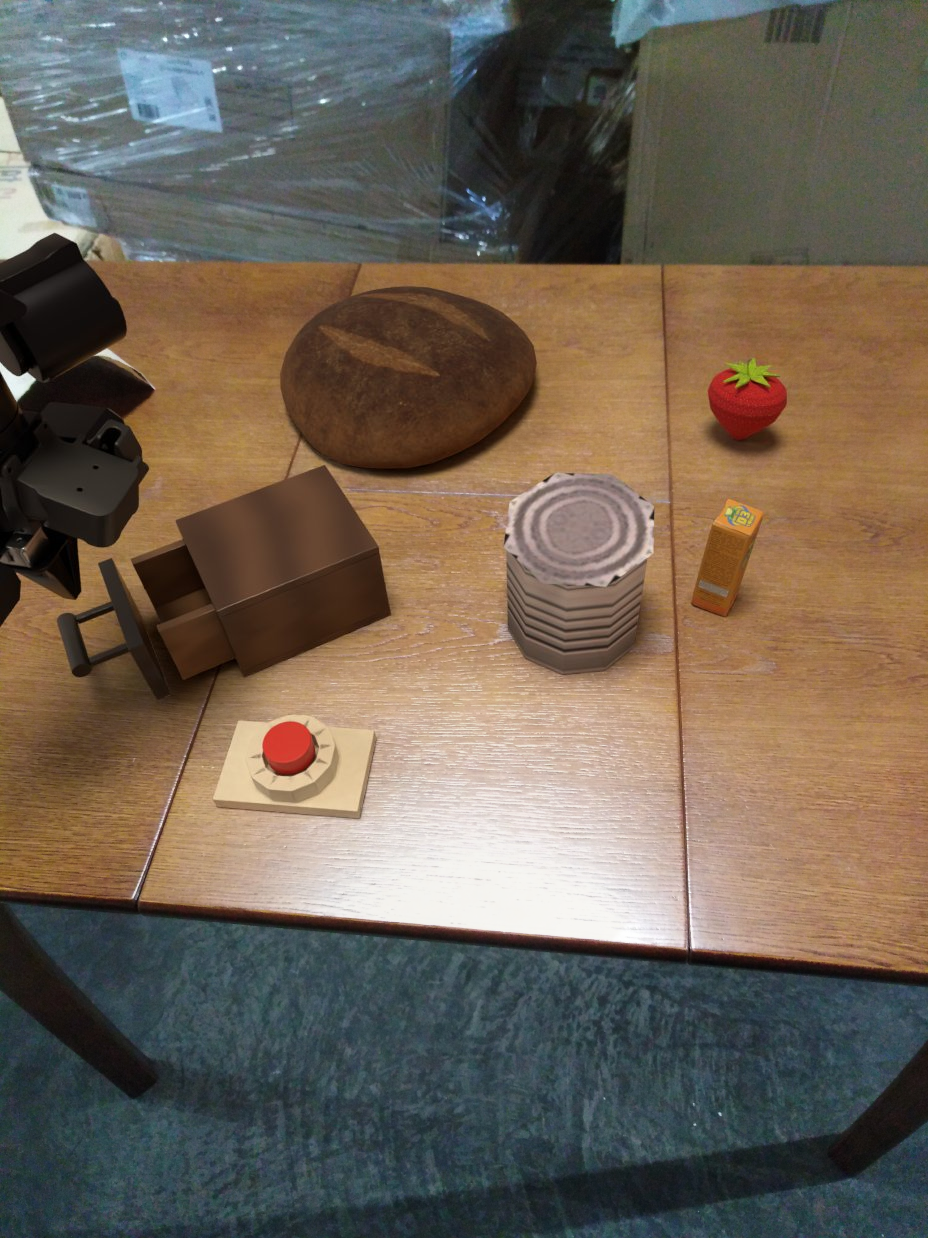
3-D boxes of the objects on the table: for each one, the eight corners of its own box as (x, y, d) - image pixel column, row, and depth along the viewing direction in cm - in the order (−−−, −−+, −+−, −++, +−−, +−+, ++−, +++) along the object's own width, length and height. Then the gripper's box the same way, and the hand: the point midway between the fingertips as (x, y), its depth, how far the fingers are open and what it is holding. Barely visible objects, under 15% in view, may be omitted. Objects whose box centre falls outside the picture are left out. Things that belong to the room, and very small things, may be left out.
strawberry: (766, 467, 88) (789, 381, 80) (691, 447, 90) (707, 362, 82) (781, 431, 91) (805, 346, 83) (709, 413, 93) (725, 328, 86)
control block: (216, 807, 67) (205, 787, 65) (241, 728, 71) (232, 707, 69) (359, 819, 66) (353, 799, 63) (376, 737, 70) (371, 716, 68)
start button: (261, 773, 66) (256, 761, 64) (274, 731, 68) (268, 719, 67) (309, 777, 65) (304, 764, 64) (320, 735, 68) (315, 722, 66)
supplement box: (728, 619, 76) (750, 536, 68) (689, 605, 77) (707, 521, 69) (742, 593, 78) (765, 509, 70) (704, 579, 79) (723, 495, 71)
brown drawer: (99, 725, 71) (65, 675, 66) (72, 637, 77) (39, 584, 72) (300, 640, 76) (283, 587, 71) (260, 562, 82) (241, 508, 77)
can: (668, 624, 76) (688, 522, 67) (574, 700, 71) (581, 602, 62) (572, 554, 82) (578, 451, 72) (479, 620, 77) (473, 520, 68)
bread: (389, 297, 111) (380, 228, 104) (581, 361, 100) (585, 289, 94) (230, 421, 97) (208, 351, 90) (434, 512, 86) (426, 440, 79)
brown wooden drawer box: (244, 677, 75) (216, 611, 68) (203, 587, 81) (174, 519, 75) (391, 614, 78) (378, 546, 72) (340, 533, 85) (324, 464, 78)
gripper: (2, 551, 45) (113, 722, 57) (163, 339, 56) (227, 518, 68) (-185, 524, 47) (-39, 694, 59) (7, 325, 58) (96, 502, 70)
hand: (72, 595), depth 64 cm, fingers closed
